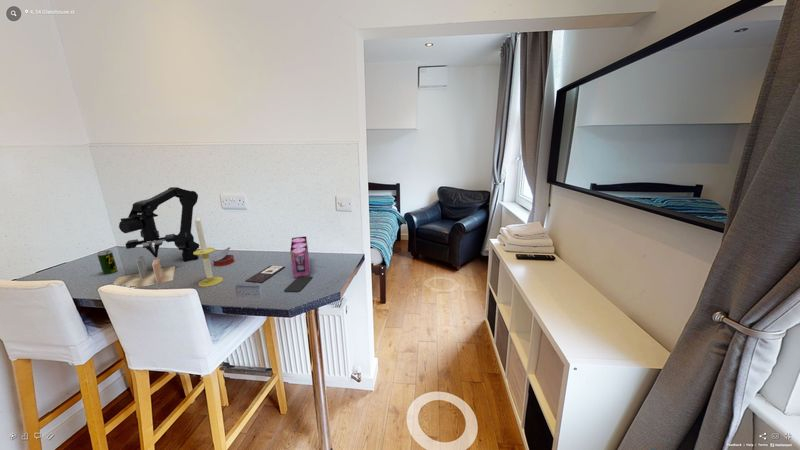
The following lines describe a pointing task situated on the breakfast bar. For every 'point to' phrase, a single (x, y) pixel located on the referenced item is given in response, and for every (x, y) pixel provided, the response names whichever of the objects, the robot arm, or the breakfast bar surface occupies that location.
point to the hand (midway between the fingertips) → (156, 257)
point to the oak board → (149, 280)
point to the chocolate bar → (265, 274)
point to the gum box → (300, 257)
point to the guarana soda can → (107, 262)
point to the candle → (205, 258)
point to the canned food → (223, 258)
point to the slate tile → (142, 266)
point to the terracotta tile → (157, 270)
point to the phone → (298, 284)
